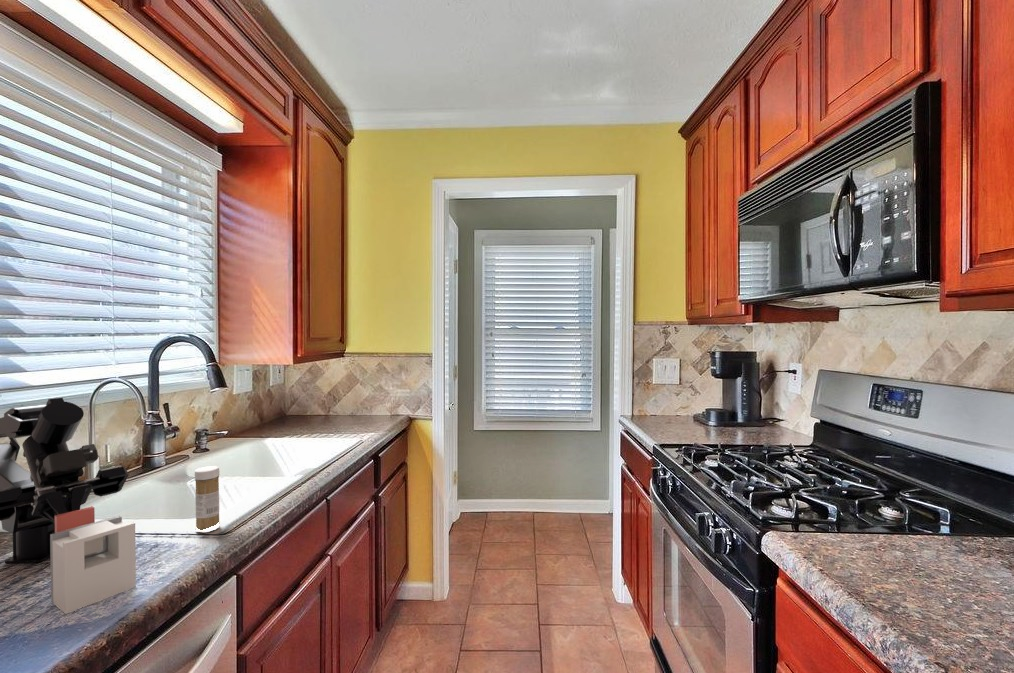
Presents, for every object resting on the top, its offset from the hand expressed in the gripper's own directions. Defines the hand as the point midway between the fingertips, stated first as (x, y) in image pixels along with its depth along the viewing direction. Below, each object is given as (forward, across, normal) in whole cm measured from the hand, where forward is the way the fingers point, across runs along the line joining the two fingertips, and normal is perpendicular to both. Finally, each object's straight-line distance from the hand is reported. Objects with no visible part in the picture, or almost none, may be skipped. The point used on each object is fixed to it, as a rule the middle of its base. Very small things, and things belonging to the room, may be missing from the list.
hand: (73, 531), depth 82 cm
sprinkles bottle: (+5, +23, +7) cm, 24 cm away
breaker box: (+12, 0, -1) cm, 13 cm away
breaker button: (+5, 0, -1) cm, 5 cm away
